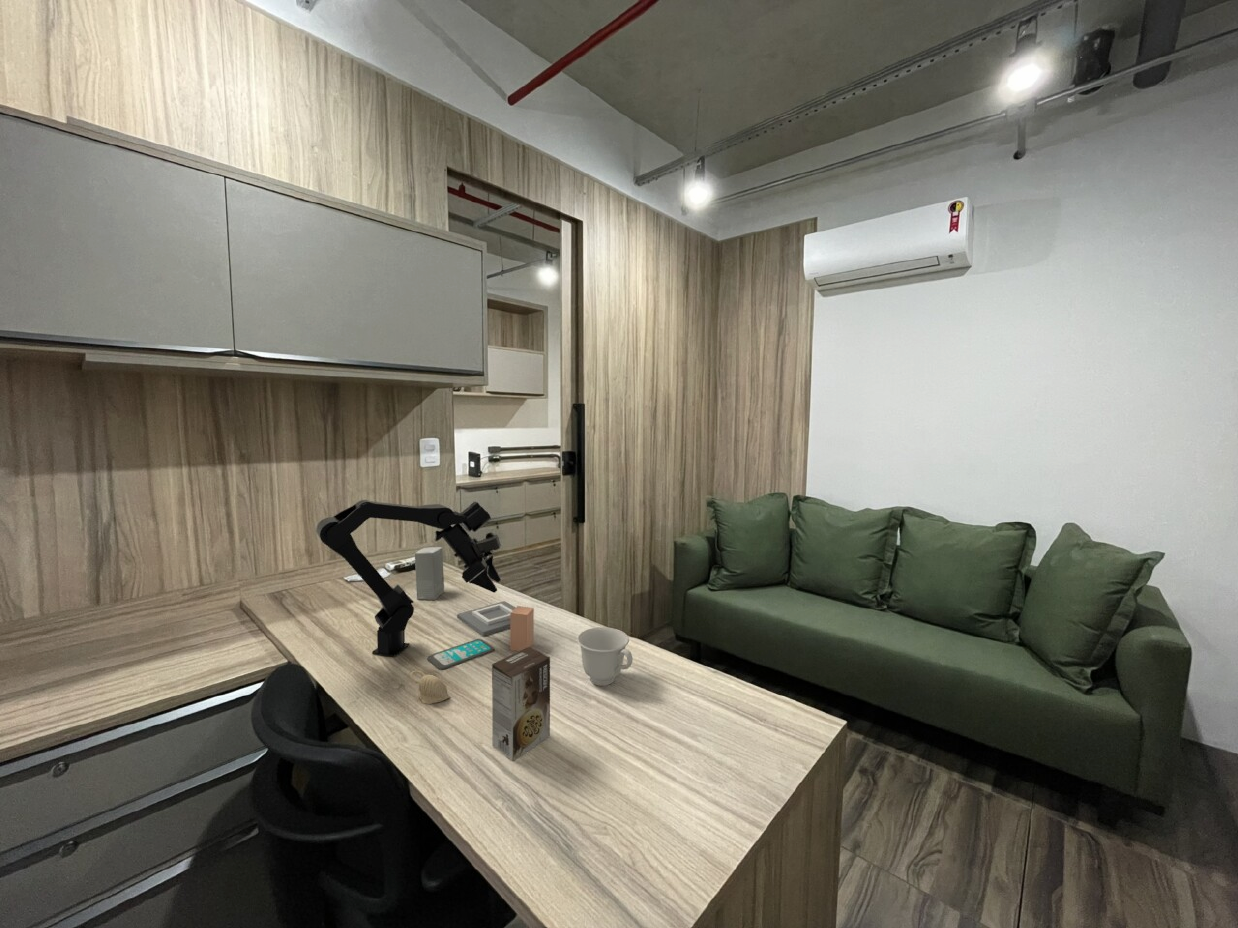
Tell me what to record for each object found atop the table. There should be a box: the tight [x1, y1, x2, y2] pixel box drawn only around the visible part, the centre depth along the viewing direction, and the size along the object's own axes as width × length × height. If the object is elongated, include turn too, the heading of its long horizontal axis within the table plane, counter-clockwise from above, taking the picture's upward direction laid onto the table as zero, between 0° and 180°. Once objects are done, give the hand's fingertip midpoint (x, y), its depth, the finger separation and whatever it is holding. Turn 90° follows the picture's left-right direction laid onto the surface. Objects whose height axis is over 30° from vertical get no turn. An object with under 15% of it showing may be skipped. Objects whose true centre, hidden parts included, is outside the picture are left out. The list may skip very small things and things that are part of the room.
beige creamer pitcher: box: [409, 669, 452, 705], centre depth 104 cm, size 4×8×5 cm, turn 66°
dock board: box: [456, 600, 517, 637], centre depth 144 cm, size 16×16×2 cm
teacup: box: [577, 626, 634, 686], centre depth 112 cm, size 12×15×10 cm
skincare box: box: [414, 546, 445, 601], centre depth 161 cm, size 8×7×16 cm
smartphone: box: [426, 638, 495, 671], centre depth 123 cm, size 9×1×15 cm
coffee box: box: [491, 646, 551, 762], centre depth 90 cm, size 9×6×16 cm
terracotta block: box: [509, 605, 535, 652], centre depth 127 cm, size 5×5×10 cm
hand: (497, 586), depth 134 cm, fingers open, 9 cm apart
